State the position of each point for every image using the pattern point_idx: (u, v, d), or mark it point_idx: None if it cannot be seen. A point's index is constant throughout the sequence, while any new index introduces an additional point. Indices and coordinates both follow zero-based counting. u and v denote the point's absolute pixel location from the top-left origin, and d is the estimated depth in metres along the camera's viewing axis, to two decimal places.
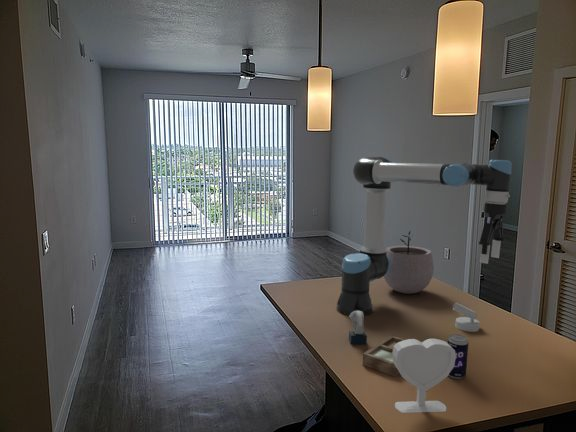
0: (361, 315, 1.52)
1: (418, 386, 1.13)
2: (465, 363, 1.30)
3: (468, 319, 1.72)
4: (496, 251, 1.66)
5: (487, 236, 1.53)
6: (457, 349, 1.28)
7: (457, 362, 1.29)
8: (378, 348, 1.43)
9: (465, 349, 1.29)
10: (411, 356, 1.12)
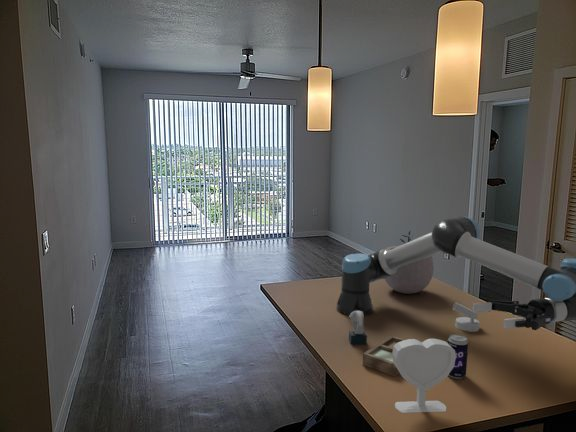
0: (361, 315, 1.52)
1: (418, 386, 1.13)
2: (465, 363, 1.30)
3: (468, 319, 1.72)
4: (480, 308, 1.39)
5: (539, 327, 1.26)
6: (457, 349, 1.28)
7: (457, 362, 1.29)
8: (378, 348, 1.43)
9: (465, 349, 1.29)
10: (411, 356, 1.12)
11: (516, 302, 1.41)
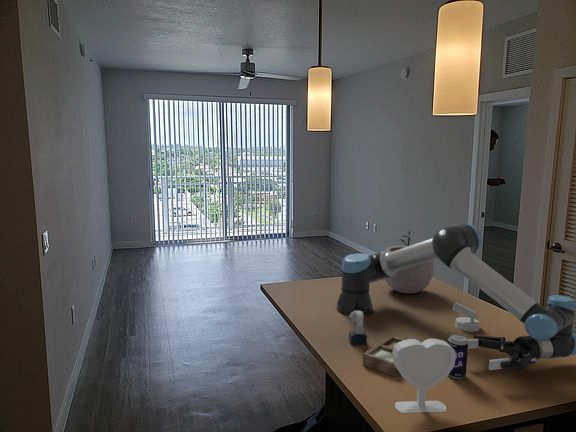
0: (361, 315, 1.52)
1: (418, 386, 1.13)
2: (465, 363, 1.30)
3: (468, 319, 1.72)
4: None
5: (524, 368, 1.26)
6: (457, 349, 1.28)
7: (457, 362, 1.29)
8: (378, 348, 1.43)
9: (465, 349, 1.29)
10: (411, 356, 1.12)
11: (503, 338, 1.41)
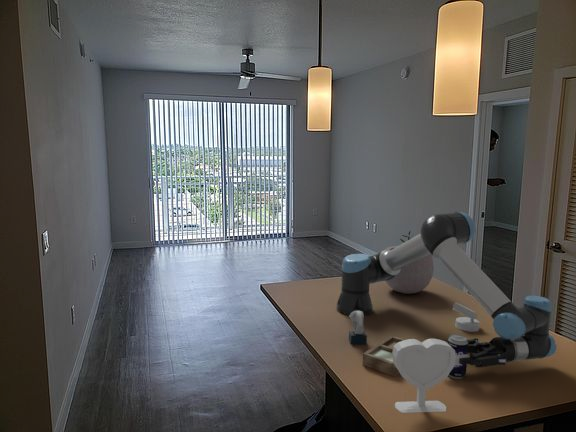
0: (361, 315, 1.52)
1: (418, 386, 1.13)
2: None
3: (468, 319, 1.72)
4: None
5: (485, 365, 1.27)
6: (457, 349, 1.28)
7: None
8: (378, 348, 1.43)
9: (465, 349, 1.29)
10: (411, 356, 1.12)
11: (476, 340, 1.39)
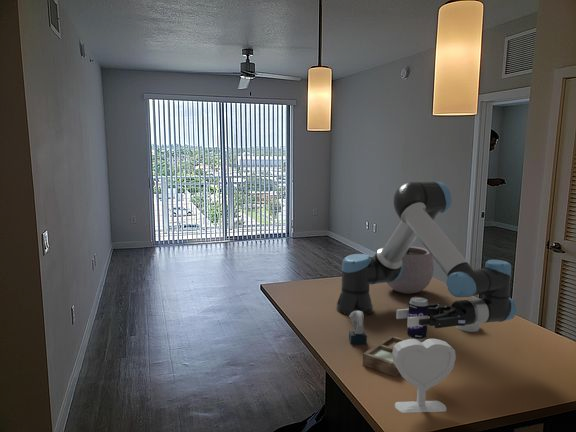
0: (361, 315, 1.52)
1: (418, 386, 1.13)
2: None
3: None
4: (405, 315, 1.34)
5: (444, 326, 1.28)
6: (418, 311, 1.29)
7: None
8: (378, 348, 1.43)
9: (425, 310, 1.29)
10: (411, 356, 1.12)
11: (439, 304, 1.40)
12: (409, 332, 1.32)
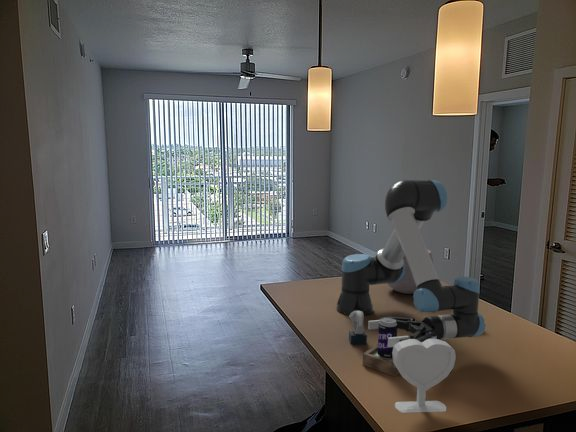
0: (361, 315, 1.52)
1: (418, 386, 1.13)
2: None
3: None
4: (376, 325, 1.43)
5: None
6: (386, 331, 1.34)
7: (386, 343, 1.35)
8: None
9: (393, 331, 1.35)
10: (411, 356, 1.12)
11: (412, 319, 1.45)
12: (379, 351, 1.37)
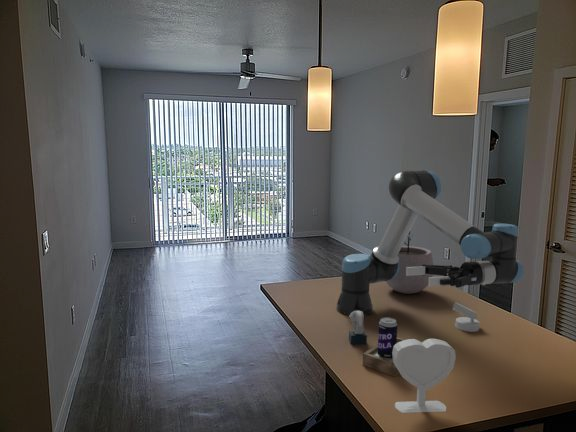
0: (361, 315, 1.52)
1: (418, 386, 1.13)
2: (394, 344, 1.35)
3: (468, 319, 1.72)
4: (414, 272, 1.45)
5: (463, 284, 1.31)
6: (386, 331, 1.34)
7: (386, 343, 1.35)
8: None
9: (393, 331, 1.34)
10: (411, 356, 1.12)
11: (449, 266, 1.47)
12: (379, 351, 1.37)
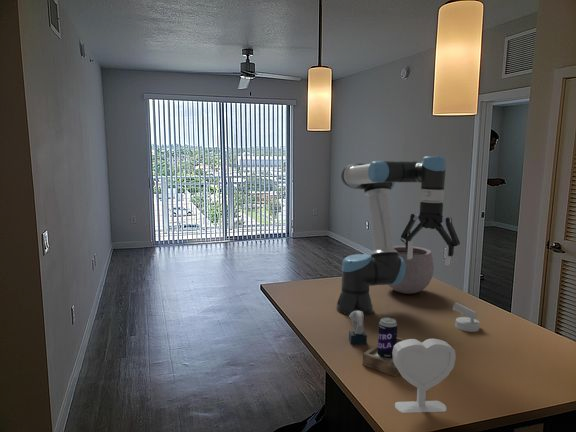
0: (361, 315, 1.52)
1: (418, 386, 1.13)
2: (394, 344, 1.35)
3: (468, 319, 1.72)
4: None
5: None
6: (386, 331, 1.34)
7: (386, 343, 1.35)
8: None
9: (393, 331, 1.34)
10: (411, 356, 1.12)
11: None
12: (379, 351, 1.37)
